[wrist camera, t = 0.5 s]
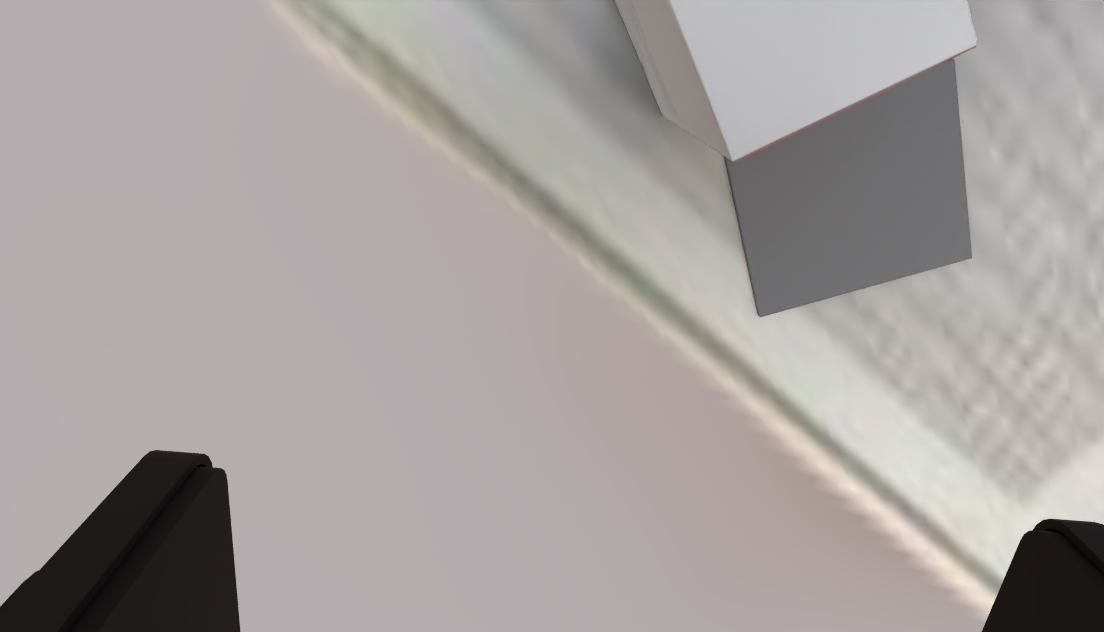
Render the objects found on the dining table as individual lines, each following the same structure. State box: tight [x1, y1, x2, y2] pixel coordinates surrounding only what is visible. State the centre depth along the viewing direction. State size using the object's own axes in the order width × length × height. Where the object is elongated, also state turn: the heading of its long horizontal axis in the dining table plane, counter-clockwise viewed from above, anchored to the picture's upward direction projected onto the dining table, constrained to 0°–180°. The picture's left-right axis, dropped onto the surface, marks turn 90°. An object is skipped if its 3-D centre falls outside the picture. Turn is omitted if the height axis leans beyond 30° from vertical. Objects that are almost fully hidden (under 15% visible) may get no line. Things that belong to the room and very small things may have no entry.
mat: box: [725, 59, 972, 317], centre depth 36 cm, size 11×10×1 cm
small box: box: [615, 0, 977, 162], centre depth 27 cm, size 8×6×13 cm
